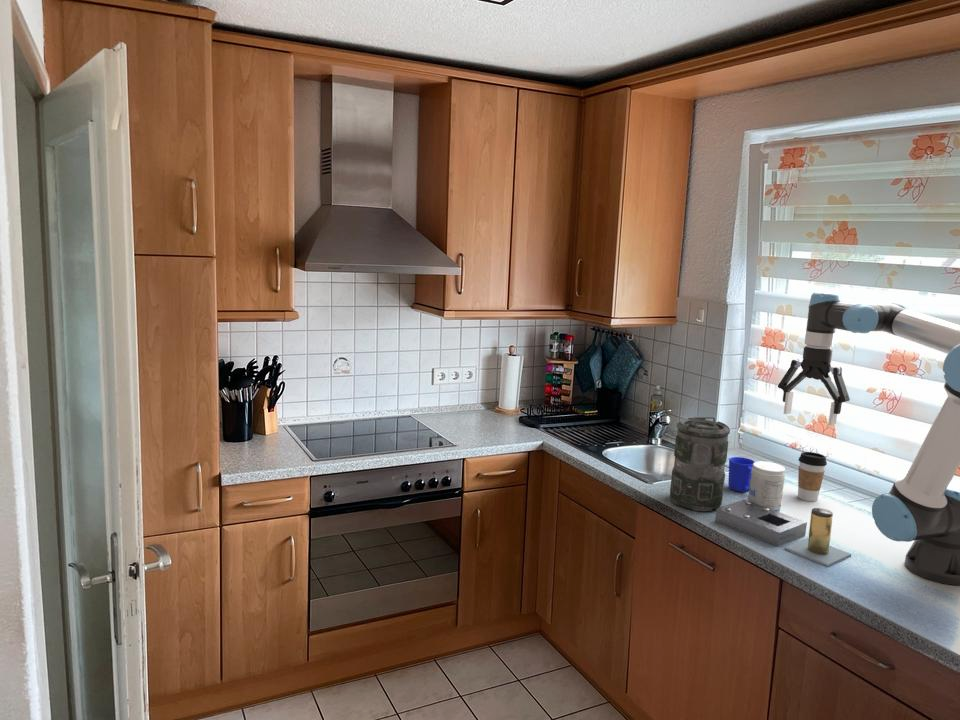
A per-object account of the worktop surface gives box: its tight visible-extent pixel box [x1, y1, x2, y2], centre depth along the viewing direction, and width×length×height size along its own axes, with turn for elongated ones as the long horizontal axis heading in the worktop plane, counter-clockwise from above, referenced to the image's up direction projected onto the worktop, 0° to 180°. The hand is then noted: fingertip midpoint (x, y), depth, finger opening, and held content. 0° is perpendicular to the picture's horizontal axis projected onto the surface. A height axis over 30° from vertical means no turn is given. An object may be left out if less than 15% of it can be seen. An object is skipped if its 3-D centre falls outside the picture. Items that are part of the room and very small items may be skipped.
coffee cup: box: [797, 451, 828, 502], centre depth 233 cm, size 8×8×15 cm
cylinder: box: [807, 507, 834, 555], centre depth 192 cm, size 5×5×11 cm
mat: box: [784, 537, 852, 567], centre depth 193 cm, size 12×12×1 cm
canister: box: [669, 416, 731, 512], centre depth 223 cm, size 16×16×28 cm
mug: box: [727, 456, 755, 493], centre depth 237 cm, size 8×12×10 cm
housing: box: [715, 499, 808, 547], centre depth 207 cm, size 20×14×4 cm
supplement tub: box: [747, 460, 786, 513], centre depth 219 cm, size 10×10×15 cm
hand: (809, 419), depth 208 cm, fingers open, 13 cm apart
